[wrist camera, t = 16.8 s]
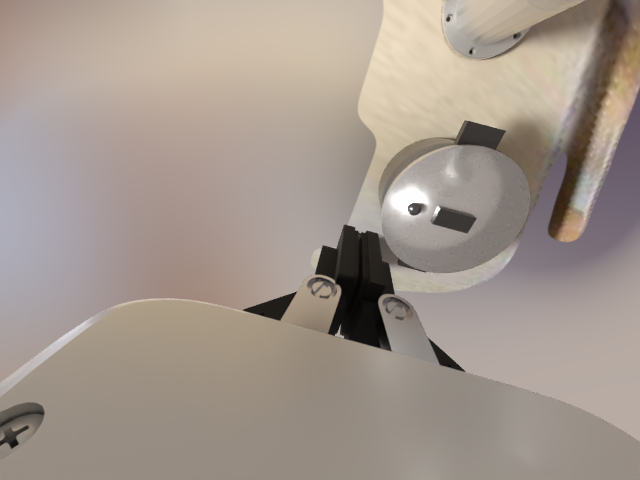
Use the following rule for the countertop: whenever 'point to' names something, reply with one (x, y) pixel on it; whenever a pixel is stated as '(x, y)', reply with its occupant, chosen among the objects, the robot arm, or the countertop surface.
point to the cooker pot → (466, 135)
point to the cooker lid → (455, 208)
